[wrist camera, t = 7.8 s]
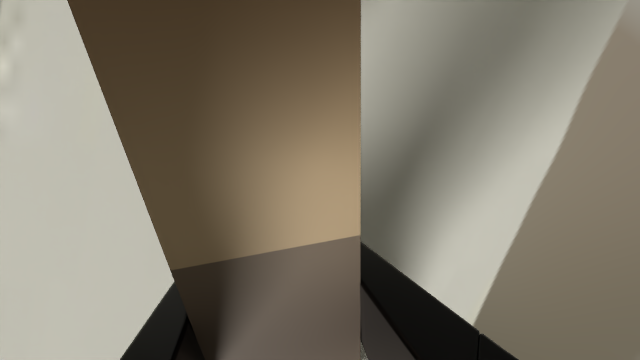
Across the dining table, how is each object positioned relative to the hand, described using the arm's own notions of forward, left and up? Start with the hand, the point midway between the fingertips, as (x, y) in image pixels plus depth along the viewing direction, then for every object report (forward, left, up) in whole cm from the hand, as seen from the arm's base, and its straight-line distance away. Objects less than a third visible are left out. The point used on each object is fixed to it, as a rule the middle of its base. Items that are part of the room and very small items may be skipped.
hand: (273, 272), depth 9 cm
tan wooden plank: (+3, 0, -1) cm, 3 cm away
